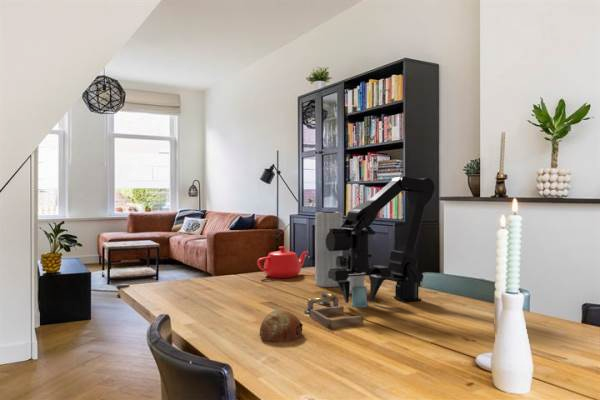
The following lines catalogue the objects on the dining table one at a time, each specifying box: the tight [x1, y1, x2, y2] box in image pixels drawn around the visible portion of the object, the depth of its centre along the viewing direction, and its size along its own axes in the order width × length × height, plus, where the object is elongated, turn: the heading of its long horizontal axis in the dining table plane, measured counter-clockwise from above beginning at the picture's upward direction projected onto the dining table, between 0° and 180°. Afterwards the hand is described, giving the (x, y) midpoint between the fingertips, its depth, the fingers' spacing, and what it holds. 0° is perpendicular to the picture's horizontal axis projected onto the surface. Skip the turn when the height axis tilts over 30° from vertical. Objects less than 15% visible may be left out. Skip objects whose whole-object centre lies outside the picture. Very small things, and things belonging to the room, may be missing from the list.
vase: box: [314, 211, 343, 288], centre depth 169 cm, size 10×10×27 cm
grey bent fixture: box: [303, 290, 339, 315], centre depth 135 cm, size 12×12×4 cm
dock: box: [308, 305, 364, 329], centre depth 121 cm, size 10×12×2 cm
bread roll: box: [259, 309, 303, 343], centre depth 108 cm, size 10×10×8 cm
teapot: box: [256, 245, 309, 279], centre depth 188 cm, size 25×16×12 cm, turn 124°
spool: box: [350, 285, 369, 309], centre depth 138 cm, size 5×5×6 cm
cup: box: [347, 269, 366, 295], centre depth 154 cm, size 11×8×8 cm
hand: (359, 301), depth 138 cm, fingers open, 8 cm apart
